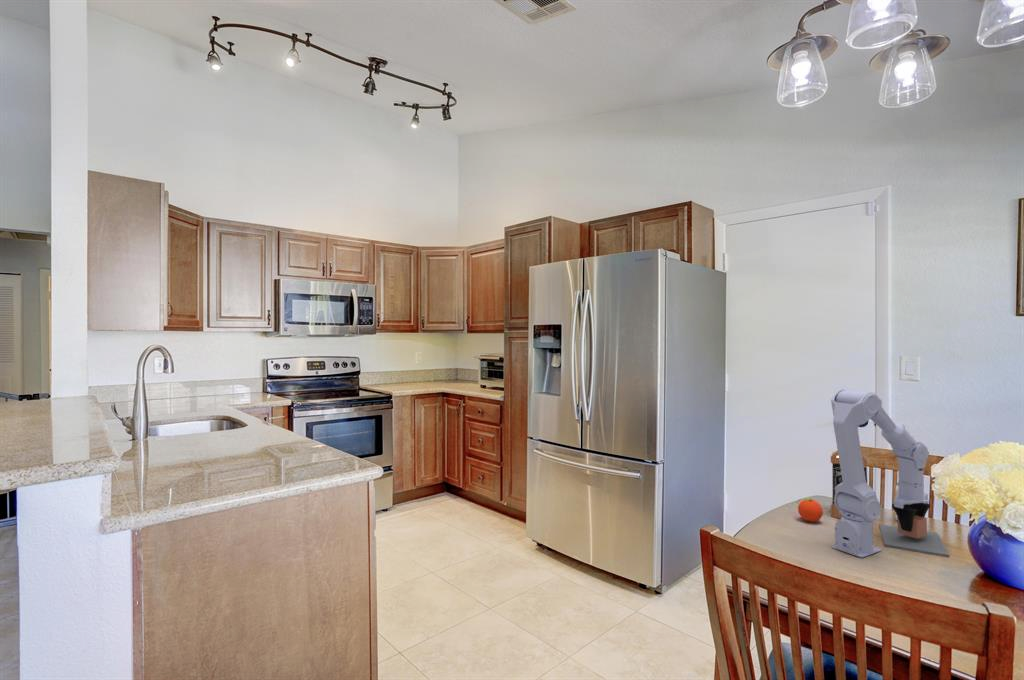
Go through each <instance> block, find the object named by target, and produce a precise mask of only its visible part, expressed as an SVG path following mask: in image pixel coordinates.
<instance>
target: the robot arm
mask: <svg viewBox="0 0 1024 680" xmlns="http://www.w3.org/2000/svg"><path fill="white" fill-rule="evenodd" d="M830 403H831V408H832V414H833V420H832V421H833V422H832V423H833V431H834V435H835V436H834V437H835V442H836V448H837V450H836V451H838V456H839V462H840V468H841V475H842V481H843V482H842V483H840V484H838V485H837V486H836V487H835V498H834V503H835V506H836V508H837V509H839V513H840V514H842V517H841V518H840V520H838V521H837V522H836V523H835V525H834V544H833V545H831V548H833V549H836V550H839V551H842V552H845V553H847V554H850V555H853V556H856V557H858V558H865V557H868V556H870V555H874V554H876V553H879V552H881V549H880V548H879V547H875V546H874V521H876V520H877V519H878V518H879V516H880V515H881V512H882V506H881V502H880V501H879V499H878V497H877V493H876V491H875V490H874V489H873V488H872V487H871V486H870V485H869V484H868V482H867V483H866V479H865V472H864V466H863V460H862V453H863V452H862V447H861V441H860V436H859V434H860V433H859V427H860V425H861V426H862V425H865V424H866V423H867V422H868V421H869V420H871V421H872V422H873V423H874V424H876V426H878V427H879V428H880V429H881V436H882V437H883V438H884V439H885V440H886V442H888V444H889V445H890V446H891V447H890V448H892V453H893V456H895V457H897V460H898V461H897V462H898V463H897V465H898V468H897V469H898V473H897V474H898V476H897V477H898V482H899V495H898V496H897V498H896V499H895V498H894V500H893V503H892V504H891V506H892V509H893V510H894V512H895V515H896V514H897V516H898V519H899V522H900V525H901V528H902V530H905V531H909V532H911V530H912V526H913V519H914V516H915V515H917V516H921V517H925V518H926V514H927V512H928V511H929V509H930V508H931V504H930V502H929V497H928V496H929V494H927V493H925V489H924V488H925V487H924V483H925V481H924V478H925V477H924V475H925V474H924V469H925V468H926V467H927V460H928V458H929V455H930V451H929V450H928V447H927V446H926V444H924V443H923V442H921V441H917V440H916V439H915V438H914V436H913V435H911V433H910V432H909V431H908V430H907V429H906V427H905V425H904V424H901V423H898V422H894V420H892V418H891V417H890V415H889V414H888V413H887V412H886V411H885V409H884V408H883V401H882V399H881V398H880V397H879V396H878V395H877V394H876V393H875V392H872V391H871V392H865V391H857V390H856V391H854V390H846V389H840V390H837V391H836V392H835V394H834V395H833V397H832V398H831V399H830Z"/></svg>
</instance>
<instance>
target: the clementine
mask: <svg viewBox="0 0 1024 680" xmlns="http://www.w3.org/2000/svg"><path fill="white" fill-rule="evenodd" d="M799 501H800V502H799ZM799 501H797V503H796V504H798V502H799V504H798V507H797V511H798V514H799V516H800V517H801V518H802V519H803V520H805V521H807V522H811V523H813V522H818V521H820V520H821V518H822V517H823V515H824V514H823V513H824V512H823V511H824V510H823V508H822V506H821V504H820V503H819V502H818V501H816V500H814V499H812V498H811V499H810V498H804V499H802V498H800V499H799Z"/></svg>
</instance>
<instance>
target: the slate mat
mask: <svg viewBox="0 0 1024 680" xmlns="http://www.w3.org/2000/svg"><path fill="white" fill-rule="evenodd" d="M879 529H880V534H881V537H882V542H883V546H884V547H886V548H887V547H888V548H894V549H898V550H904V551H911V552H917V553H922V554H929V555H935V556H940V557H946V558H950V554H949V552H948V549H947V548H946V545H945V544H944V542H943V540H942V539H941V537H940V535H939V533H938V532H931V531H927V536H924V537H921V538H918V539H917V538H914V537H911V536H907V535H904V534H900V533H898V527H897V526H894V525H887V524H881V523H880V524H879Z"/></svg>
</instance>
